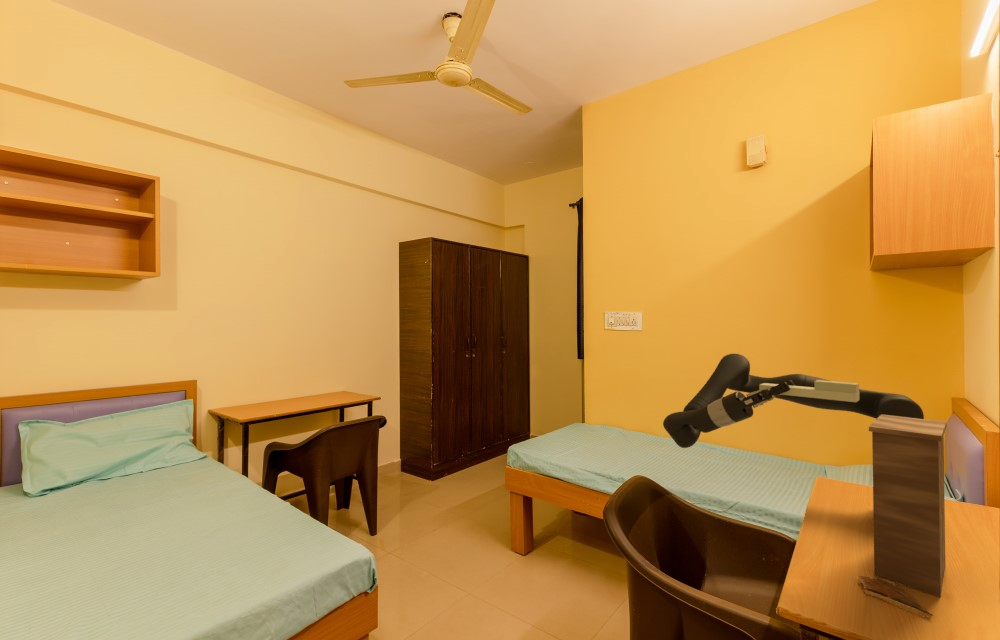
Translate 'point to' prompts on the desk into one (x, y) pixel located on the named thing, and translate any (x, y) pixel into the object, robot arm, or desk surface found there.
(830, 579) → the desk surface
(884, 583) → the shard
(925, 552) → the walnut stand
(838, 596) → the desk surface
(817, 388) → the cream plank with block
